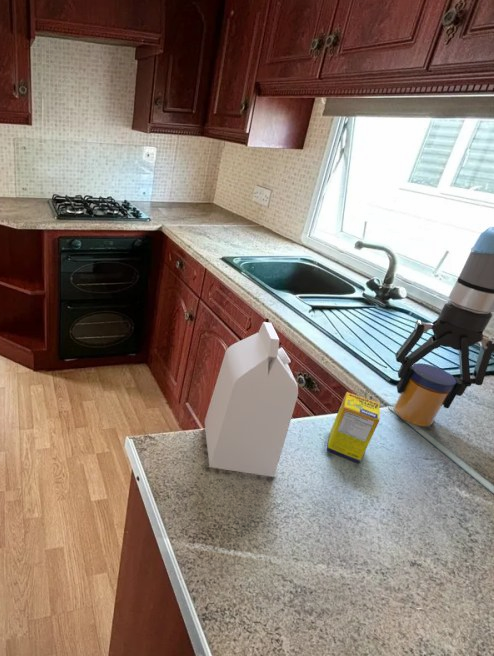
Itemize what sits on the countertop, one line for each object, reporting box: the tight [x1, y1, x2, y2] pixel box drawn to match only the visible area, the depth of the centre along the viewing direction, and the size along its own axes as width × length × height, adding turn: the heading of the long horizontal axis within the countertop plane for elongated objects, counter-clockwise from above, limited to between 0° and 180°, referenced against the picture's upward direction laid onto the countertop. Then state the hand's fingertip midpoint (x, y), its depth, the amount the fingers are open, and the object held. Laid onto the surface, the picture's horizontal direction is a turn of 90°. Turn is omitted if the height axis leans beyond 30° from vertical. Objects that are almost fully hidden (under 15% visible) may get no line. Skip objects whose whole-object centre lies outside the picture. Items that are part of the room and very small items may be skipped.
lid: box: [410, 362, 457, 392], centre depth 88 cm, size 8×8×2 cm
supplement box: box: [326, 391, 381, 464], centre depth 78 cm, size 6×6×11 cm
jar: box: [393, 377, 450, 427], centre depth 90 cm, size 8×8×10 cm
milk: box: [204, 321, 299, 478], centre depth 72 cm, size 12×12×26 cm
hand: (421, 397), depth 90 cm, fingers closed on lid, 8 cm apart
